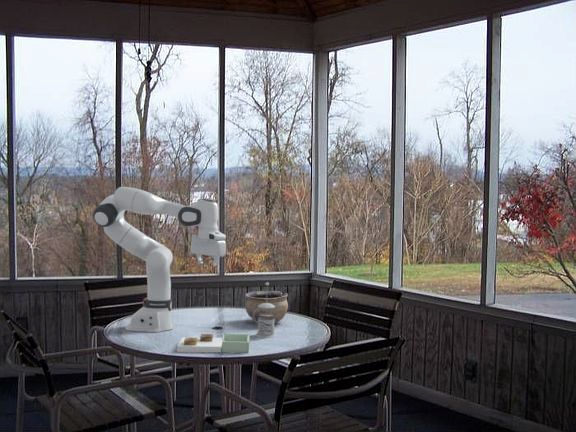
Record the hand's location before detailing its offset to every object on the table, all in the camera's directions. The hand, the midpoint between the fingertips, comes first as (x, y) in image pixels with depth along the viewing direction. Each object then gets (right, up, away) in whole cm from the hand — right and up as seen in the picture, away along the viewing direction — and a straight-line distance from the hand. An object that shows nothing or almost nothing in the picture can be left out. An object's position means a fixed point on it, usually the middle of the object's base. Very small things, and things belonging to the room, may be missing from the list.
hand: (207, 264), depth 294 cm
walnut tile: (+2, -31, -15) cm, 35 cm away
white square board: (0, -34, -18) cm, 38 cm away
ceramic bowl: (+26, -33, +36) cm, 55 cm away
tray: (+15, -34, -17) cm, 41 cm away
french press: (+26, -34, +8) cm, 43 cm away
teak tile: (-4, -32, -22) cm, 39 cm away
